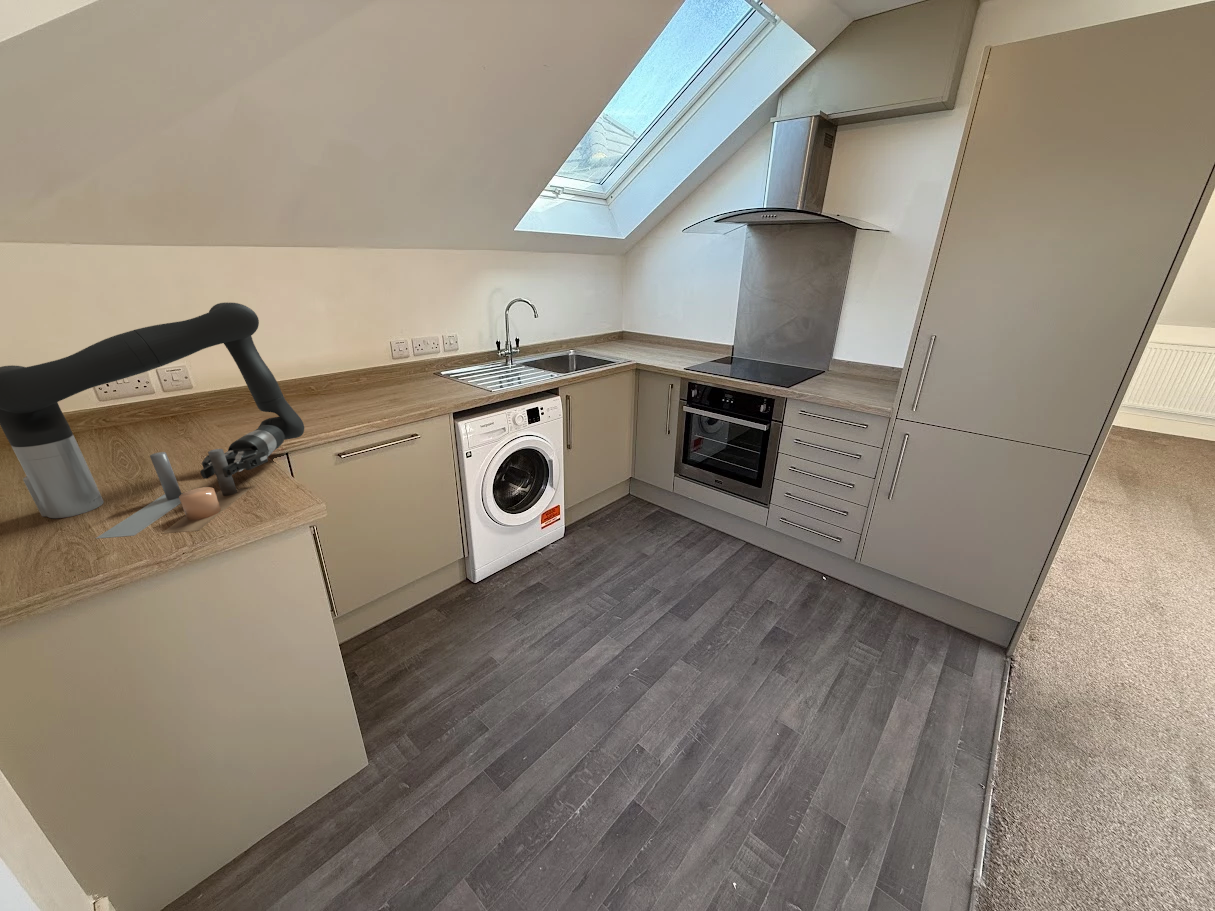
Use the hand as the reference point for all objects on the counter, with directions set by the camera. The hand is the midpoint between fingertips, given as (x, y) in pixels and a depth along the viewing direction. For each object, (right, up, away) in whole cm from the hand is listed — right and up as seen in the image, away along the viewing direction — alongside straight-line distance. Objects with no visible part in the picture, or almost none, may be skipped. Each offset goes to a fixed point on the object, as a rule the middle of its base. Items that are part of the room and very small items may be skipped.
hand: (214, 474), depth 110 cm
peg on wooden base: (+1, -9, -2) cm, 9 cm away
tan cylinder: (+1, -9, -4) cm, 10 cm away
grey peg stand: (-11, -10, -4) cm, 15 cm away
